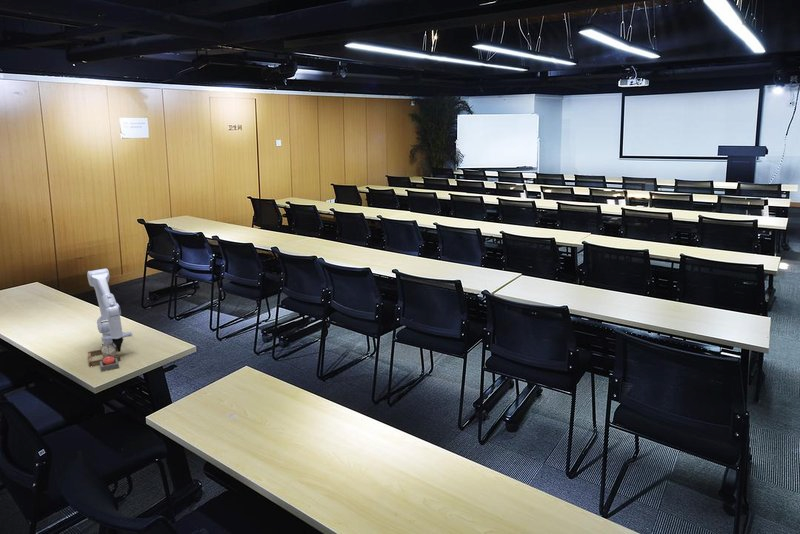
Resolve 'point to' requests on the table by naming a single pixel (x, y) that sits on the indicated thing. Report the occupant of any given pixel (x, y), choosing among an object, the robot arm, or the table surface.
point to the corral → (97, 362)
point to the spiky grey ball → (108, 350)
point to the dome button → (108, 360)
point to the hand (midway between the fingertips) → (119, 351)
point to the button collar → (109, 367)
